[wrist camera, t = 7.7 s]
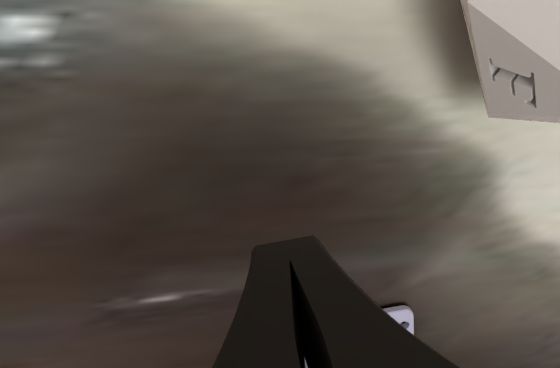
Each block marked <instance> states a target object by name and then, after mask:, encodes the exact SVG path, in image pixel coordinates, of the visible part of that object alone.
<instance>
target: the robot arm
mask: <svg viewBox="0 0 560 368" xmlns="http://www.w3.org/2000/svg"><path fill="white" fill-rule="evenodd" d="M402 322H405V323H404V324H400V323H402ZM212 368H460V367H458V366H457V365H455V364H454V363H452V362H451V361H449V360H448V359H446V358H445V357H443V356H442V355H441V354H439V353H438V352H436V351H435V350H433V349H432V348H431V347H429V346H428V345H427V344H425V343H424V342H422V341H421V340H420V339H418V338H417V337H416V336H414V316H413V312H412V310H411V309H410V308H409V307H408V306H406V305H401V306H395V307H390V308H384V309H382V308H381V307H380V306H379V305H378V304H376V303H375V302H374V301H373V300H372V299H371V298H370V297H369V296H368V295H367V294H366V293H365V292H364V291H363V290H362V289H361V288H360V287H359V286H358V285H357V284H356V283H355V282H354V281H353V280H352V279H351V278H350V277H349V276H348V275H347V274H346V273H345V272H344V270H343V269H342V268H341V267H340V266H339V265H338V264H337V263H336V261H335V260H334V259H333V258H332V257H331V255H330V254H329V253H328V252H327V250H326V249H325V248H324V246H323V245H322V244H321V242H320V241H319V239H317V238H316V237H314V236H308V237H302V238H297V239H291V240H286V241H280V242H274V243H269V244H263V245H257V246H256V247H255V248H254V249H253V250H252V254H251V263H250V268H249V273H248V277H247V280H246V284H245V288H244V291H243V294H242V297H241V300H240V303H239V306H238V309H237V312H236V314H235V317H234V320H233V322H232V324H231V327H230V329H229V332H228V334H227V336H226V339H225V341H224V343H223V346H222V348H221V350H220V353H219V355H218V357H217V359H216V361H215V363H214V365H213V367H212Z"/></svg>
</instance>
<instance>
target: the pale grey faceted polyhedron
mask: <svg viewBox="0 0 560 368" xmlns="http://www.w3.org/2000/svg"><path fill="white" fill-rule="evenodd" d="M460 1H461V6H462V10H463V14H464V18H465V22H466V26H467V29H468V34H469V39H470V43H471V47H472V51H473V55H474V59H475V63H476V67H477V72H478V76H479V80H480V84H481V88H482V92H483V96H484V100H485V105H486V109H487V113H488V117H492V118H504V119H516V120H529V121H541V122H554V123H560V0H460Z"/></svg>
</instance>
